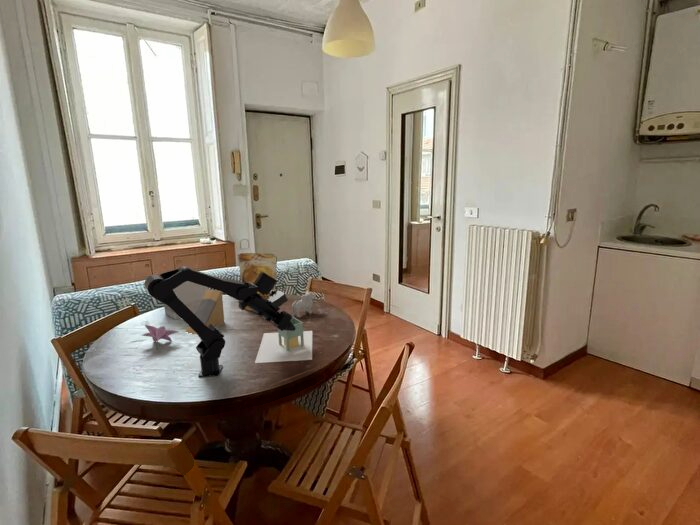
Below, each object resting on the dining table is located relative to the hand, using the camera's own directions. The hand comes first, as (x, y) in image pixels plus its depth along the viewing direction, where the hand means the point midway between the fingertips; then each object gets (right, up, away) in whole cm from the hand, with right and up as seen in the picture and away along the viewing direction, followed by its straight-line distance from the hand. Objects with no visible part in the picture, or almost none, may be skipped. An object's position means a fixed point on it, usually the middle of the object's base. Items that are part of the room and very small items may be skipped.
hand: (289, 325), depth 139 cm
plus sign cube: (+1, -8, +2) cm, 8 cm away
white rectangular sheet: (-1, -8, +2) cm, 9 cm away
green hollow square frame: (+1, -8, +2) cm, 8 cm away
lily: (-51, -9, +5) cm, 52 cm away
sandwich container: (-40, -5, +22) cm, 46 cm away
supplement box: (-56, 0, +41) cm, 69 cm away
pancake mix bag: (-21, +1, +42) cm, 48 cm away
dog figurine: (+1, -1, +36) cm, 36 cm away
